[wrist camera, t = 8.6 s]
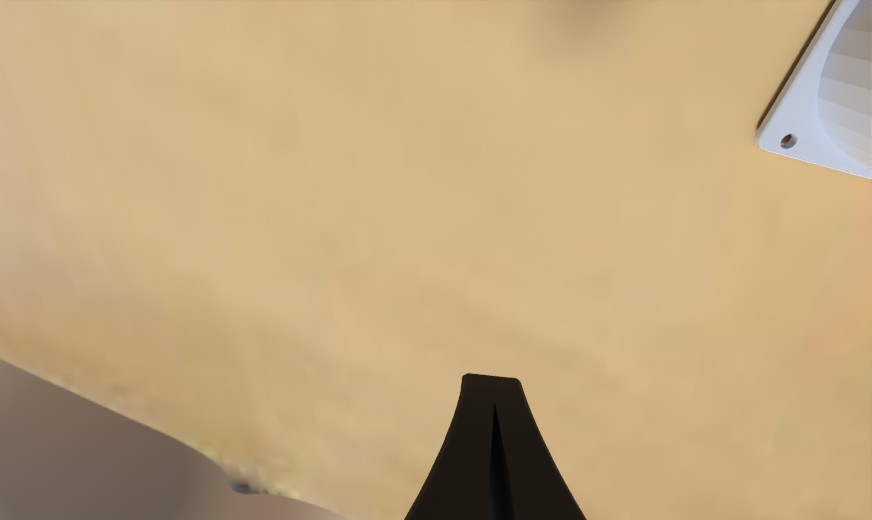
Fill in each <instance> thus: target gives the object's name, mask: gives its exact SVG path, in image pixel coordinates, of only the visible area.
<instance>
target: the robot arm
mask: <svg viewBox="0 0 872 520" xmlns="http://www.w3.org/2000/svg"><path fill="white" fill-rule="evenodd" d="M788 134H791V138H790V140H789V141H788V142H787V143H786V144H784V145H781V144H780V143H781V140H782V139H783V138H784V137H785V136H786V135H788ZM755 143H756V144H757V146H758V147H760V148H762V149H764V150H765V151H768V152H772V153H776V154H779V155H783V156H787V157H791V158H794V159H798V160H802V161H805V162H809V163H813V164H817V165H820V166H824V167H828V168H831V169H835V170H839V171H842V172H846V173H850V174H854V175H857V176H861V177H865V178H868V179H872V0H836V1H835V3H834V5H833V6H832V8H831V10H830V11H829V13H828V15H827V16H826V18H825V20H824V21H823V23H822V25H821V26H820V28H819V29H818V31H817V33H816V34H815V36H814V38H813V39H812V41H811V43H810V44H809V46H808V48H807V49H806V51H805V53H804V54H803V56H802V58H801V59H800V61H799V63H798V64H797V66H796V68H795V69H794V71H793V73H792V74H791V76H790V77H789V79H788V81H787V82H786V84H785V86H784V87H783V89H782V91H781V92H780V94H779V96H778V97H777V99H776V101H775V102H774V104H773V106H772V107H771V109H770V111H769V112H768V114H767V116H766V117H765V119H764V121H763V122H762V124H761V126H760V127H759V129H758V130H757V133H756V135H755ZM404 520H587V519H586V518H585V516H584V515H583V513H582V511H581V510H580V508H579V506H578V504H577V503H576V501H575V499H574V498H573V496H572V494H571V492H570V491H569V489H568V487H567V485H566V483H565V481H564V480H563V478H562V476H561V474H560V472H559V470H558V468H557V466H556V465H555V463H554V461H553V459H552V456H551V454H550V452H549V450H548V448H547V446H546V444H545V442H544V440H543V438H542V436H541V434H540V431H539V429H538V427H537V424H536V422H535V420H534V417H533V415H532V413H531V410H530V408H529V405H528V402H527V400H526V397H525V394H524V391H523V388H522V385H521V382H520V381H519V380H518V379H517V378H508V377H498V376H489V375H479V374H470V373H467V374H465V375H464V376H462V383H461V391H460V396H459V400H458V404H457V407H456V410H455V413H454V416H453V419H452V422H451V424H450V427H449V430H448V432H447V435H446V437H445V440H444V443H443V445H442V447H441V449H440V452H439V454H438V456H437V458H436V460H435V462H434V464H433V466H432V469H431V471H430V473H429V475H428V477H427V479H426V481H425V483H424V485H423V487H422V489H421V491H420V492H419V494H418V496H417V498H416V500H415V501H414V503H413V505H412V507H411V509H410V510H409V512H408V514H407V516H406V517H405V519H404Z"/></svg>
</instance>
